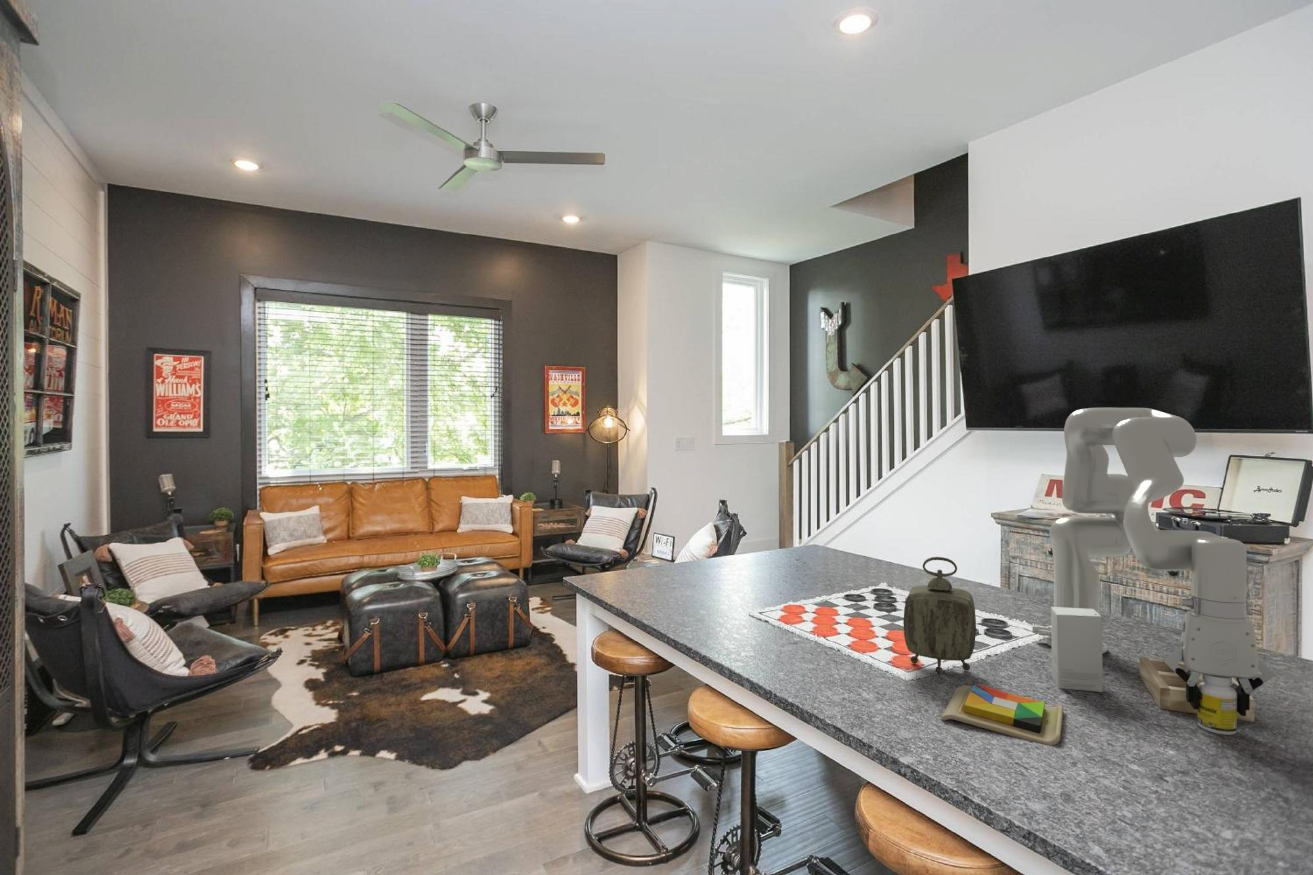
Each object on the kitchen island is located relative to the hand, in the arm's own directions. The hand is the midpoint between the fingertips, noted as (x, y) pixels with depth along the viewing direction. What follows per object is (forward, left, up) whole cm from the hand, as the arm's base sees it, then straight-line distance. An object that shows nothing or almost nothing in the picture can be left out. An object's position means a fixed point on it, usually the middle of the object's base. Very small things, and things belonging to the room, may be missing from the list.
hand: (1217, 708), depth 121 cm
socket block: (0, +16, -4) cm, 16 cm away
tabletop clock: (-46, +10, -4) cm, 47 cm away
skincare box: (-20, +13, -4) cm, 24 cm away
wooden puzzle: (-34, -10, -4) cm, 36 cm away
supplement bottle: (0, 0, -4) cm, 4 cm away
